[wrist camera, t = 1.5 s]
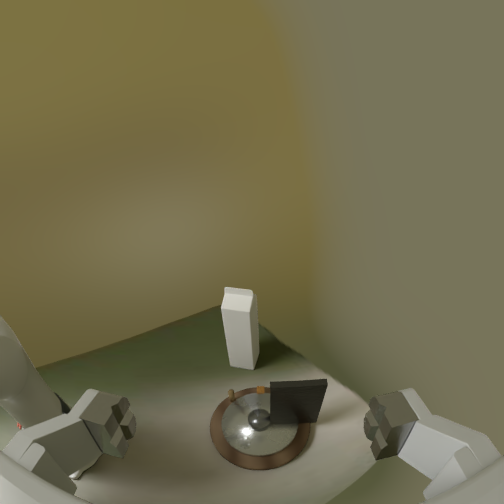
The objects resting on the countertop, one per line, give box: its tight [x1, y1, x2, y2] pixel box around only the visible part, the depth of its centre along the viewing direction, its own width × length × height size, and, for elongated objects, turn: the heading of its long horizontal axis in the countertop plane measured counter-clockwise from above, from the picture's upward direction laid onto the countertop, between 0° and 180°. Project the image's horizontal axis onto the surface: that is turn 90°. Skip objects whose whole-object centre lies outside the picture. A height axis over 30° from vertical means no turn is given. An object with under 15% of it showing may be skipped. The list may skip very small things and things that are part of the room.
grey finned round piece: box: [221, 379, 328, 457], centre depth 43 cm, size 18×17×15 cm
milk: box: [221, 287, 259, 370], centre depth 59 cm, size 6×6×22 cm
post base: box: [210, 387, 310, 470], centre depth 45 cm, size 20×20×5 cm
